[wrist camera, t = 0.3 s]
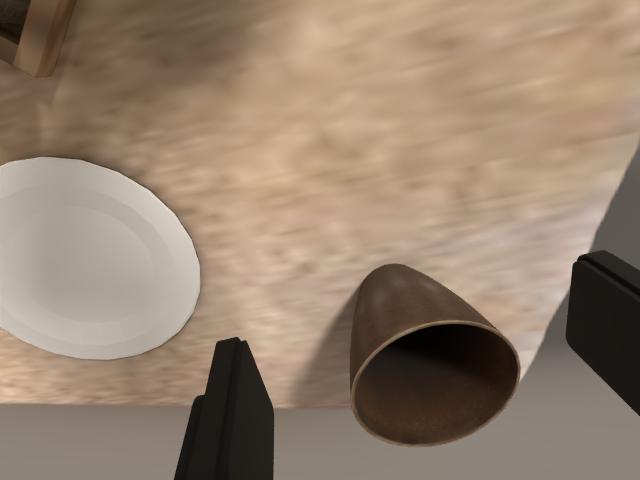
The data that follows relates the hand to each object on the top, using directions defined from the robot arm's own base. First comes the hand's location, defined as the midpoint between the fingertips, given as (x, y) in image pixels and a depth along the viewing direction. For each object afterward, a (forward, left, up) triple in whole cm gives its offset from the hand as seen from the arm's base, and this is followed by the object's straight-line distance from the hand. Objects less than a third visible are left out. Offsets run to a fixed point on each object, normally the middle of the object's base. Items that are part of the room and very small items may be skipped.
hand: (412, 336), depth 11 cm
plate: (+25, -15, -31) cm, 43 cm away
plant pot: (+11, +17, -31) cm, 37 cm away
